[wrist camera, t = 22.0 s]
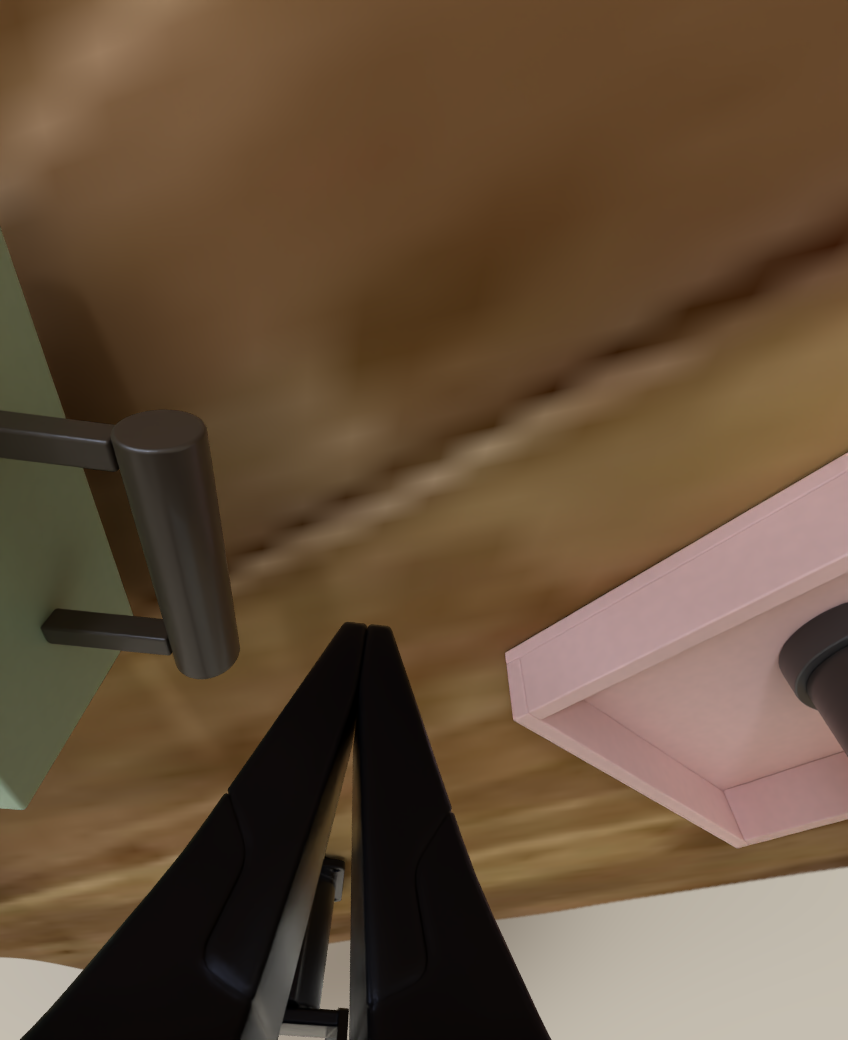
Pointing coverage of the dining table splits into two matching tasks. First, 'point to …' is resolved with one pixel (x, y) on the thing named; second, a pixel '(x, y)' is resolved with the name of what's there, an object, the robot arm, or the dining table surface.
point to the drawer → (92, 552)
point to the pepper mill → (821, 668)
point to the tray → (706, 672)
